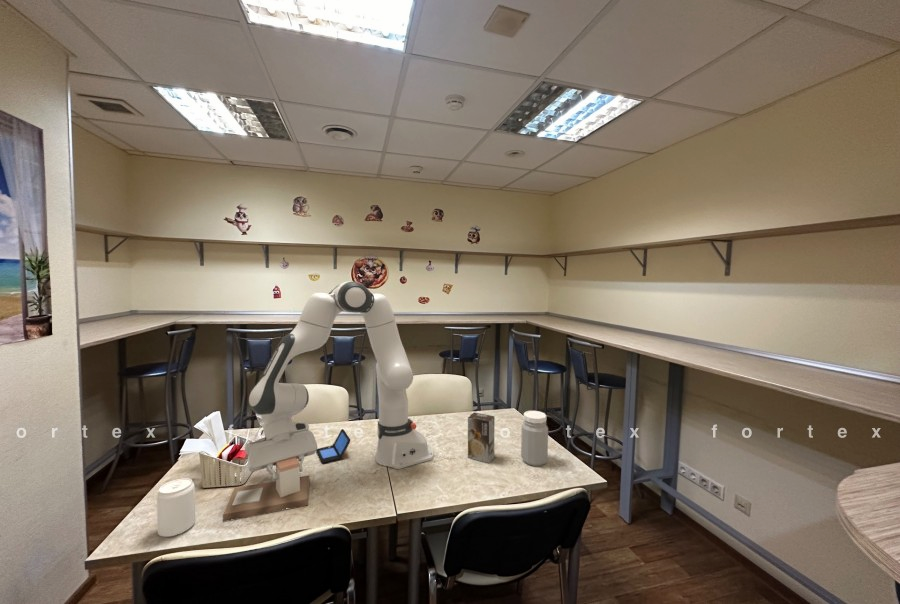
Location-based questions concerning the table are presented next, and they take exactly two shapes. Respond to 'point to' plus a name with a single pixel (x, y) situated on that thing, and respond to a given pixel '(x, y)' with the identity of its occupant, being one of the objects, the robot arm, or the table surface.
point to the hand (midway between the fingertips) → (288, 475)
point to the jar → (534, 438)
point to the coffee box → (481, 437)
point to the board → (263, 499)
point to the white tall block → (288, 476)
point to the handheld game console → (334, 449)
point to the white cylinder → (176, 507)
